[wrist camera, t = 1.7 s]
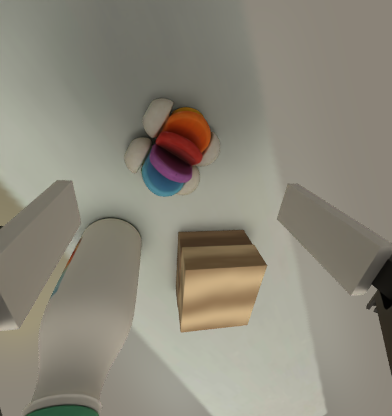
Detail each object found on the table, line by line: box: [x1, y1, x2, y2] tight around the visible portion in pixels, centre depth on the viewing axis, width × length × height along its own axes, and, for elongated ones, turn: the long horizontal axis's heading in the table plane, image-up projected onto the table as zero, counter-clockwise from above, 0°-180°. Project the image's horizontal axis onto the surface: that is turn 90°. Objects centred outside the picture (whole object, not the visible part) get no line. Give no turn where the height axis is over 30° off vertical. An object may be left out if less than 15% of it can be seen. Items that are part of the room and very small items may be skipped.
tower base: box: [176, 230, 253, 306], centre depth 32 cm, size 12×10×4 cm
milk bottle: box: [22, 218, 141, 416], centre depth 20 cm, size 8×8×20 cm
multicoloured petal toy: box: [124, 98, 220, 197], centre depth 21 cm, size 8×10×7 cm
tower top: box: [178, 245, 267, 332], centre depth 29 cm, size 12×10×4 cm
